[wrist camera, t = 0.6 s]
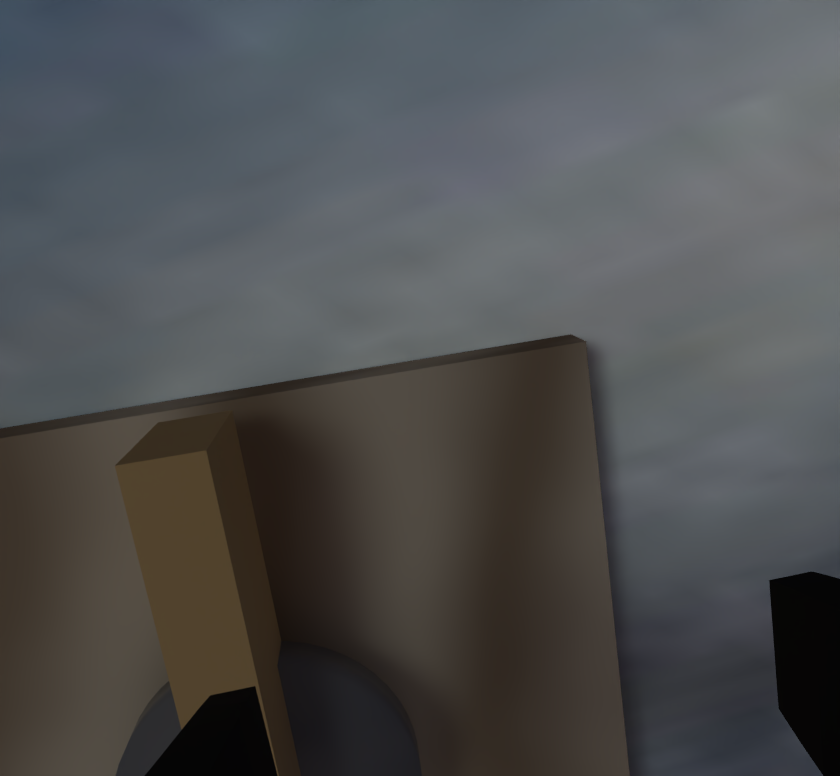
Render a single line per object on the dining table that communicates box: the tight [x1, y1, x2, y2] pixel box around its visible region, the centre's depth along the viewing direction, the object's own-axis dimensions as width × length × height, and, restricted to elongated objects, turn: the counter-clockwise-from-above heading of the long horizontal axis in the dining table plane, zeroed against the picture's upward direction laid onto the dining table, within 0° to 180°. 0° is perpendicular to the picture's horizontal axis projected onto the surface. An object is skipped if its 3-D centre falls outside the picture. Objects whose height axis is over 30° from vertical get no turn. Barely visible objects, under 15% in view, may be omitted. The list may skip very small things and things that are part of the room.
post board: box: [0, 335, 630, 776], centre depth 19 cm, size 18×18×2 cm
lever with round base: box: [115, 410, 422, 776], centre depth 16 cm, size 12×7×3 cm, turn 8°
